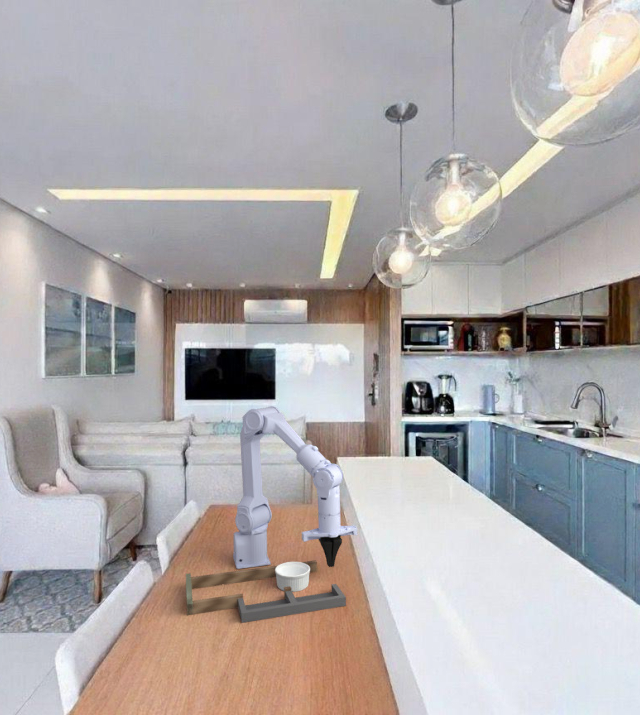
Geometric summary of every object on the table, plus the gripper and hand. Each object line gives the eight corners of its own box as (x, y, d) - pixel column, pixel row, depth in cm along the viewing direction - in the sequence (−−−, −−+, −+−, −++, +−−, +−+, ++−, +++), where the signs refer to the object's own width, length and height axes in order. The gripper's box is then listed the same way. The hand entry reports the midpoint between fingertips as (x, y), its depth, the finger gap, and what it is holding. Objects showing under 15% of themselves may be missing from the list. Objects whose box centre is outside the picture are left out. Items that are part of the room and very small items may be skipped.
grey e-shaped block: (241, 622, 108) (241, 613, 108) (237, 607, 115) (237, 598, 115) (345, 605, 114) (345, 596, 114) (336, 591, 121) (336, 583, 121)
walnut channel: (187, 615, 111) (186, 599, 112) (186, 587, 125) (185, 573, 125) (331, 592, 121) (331, 578, 121) (315, 569, 135) (315, 556, 135)
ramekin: (317, 584, 126) (317, 567, 126) (292, 597, 119) (292, 579, 119) (292, 575, 132) (292, 558, 132) (268, 586, 125) (267, 569, 125)
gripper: (306, 520, 123) (307, 575, 123) (360, 513, 127) (362, 567, 127) (299, 512, 130) (300, 564, 129) (351, 506, 134) (352, 557, 133)
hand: (330, 565), depth 128 cm, fingers closed
